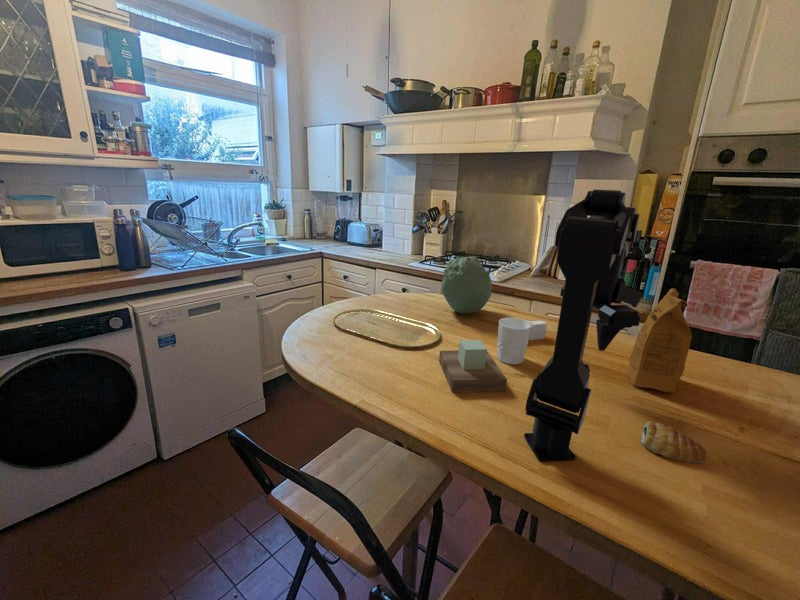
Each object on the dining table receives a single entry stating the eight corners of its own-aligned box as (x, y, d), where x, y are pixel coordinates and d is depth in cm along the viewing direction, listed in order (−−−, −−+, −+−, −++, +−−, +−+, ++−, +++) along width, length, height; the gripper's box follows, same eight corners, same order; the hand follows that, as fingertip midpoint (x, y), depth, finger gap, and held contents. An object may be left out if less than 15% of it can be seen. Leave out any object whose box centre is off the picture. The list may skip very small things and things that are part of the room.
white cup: (527, 367, 92) (533, 330, 89) (495, 363, 94) (499, 327, 90) (524, 353, 99) (529, 319, 96) (493, 350, 101) (498, 316, 98)
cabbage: (498, 312, 130) (505, 256, 123) (468, 326, 117) (474, 263, 110) (461, 301, 140) (466, 248, 133) (429, 312, 127) (433, 255, 120)
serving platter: (420, 358, 96) (420, 352, 95) (320, 326, 113) (320, 321, 113) (450, 334, 111) (451, 329, 111) (358, 309, 129) (359, 305, 128)
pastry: (701, 449, 66) (707, 432, 65) (706, 474, 61) (713, 455, 59) (640, 430, 71) (645, 413, 69) (639, 451, 65) (645, 433, 64)
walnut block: (505, 391, 82) (506, 379, 81) (451, 392, 80) (452, 380, 79) (485, 360, 95) (486, 350, 94) (439, 361, 94) (439, 350, 93)
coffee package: (672, 375, 91) (698, 290, 84) (678, 399, 81) (708, 305, 74) (626, 364, 96) (647, 282, 89) (625, 386, 86) (650, 295, 79)
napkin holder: (498, 343, 107) (500, 324, 105) (502, 329, 117) (504, 312, 115) (553, 353, 102) (557, 334, 100) (553, 337, 112) (556, 319, 110)
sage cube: (484, 369, 84) (487, 349, 83) (463, 369, 84) (465, 349, 82) (478, 358, 89) (480, 339, 88) (457, 359, 89) (459, 340, 87)
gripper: (677, 283, 67) (655, 361, 72) (611, 260, 84) (597, 324, 89) (620, 283, 65) (601, 361, 70) (565, 259, 83) (553, 324, 88)
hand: (588, 340), depth 80 cm, fingers open, 9 cm apart
